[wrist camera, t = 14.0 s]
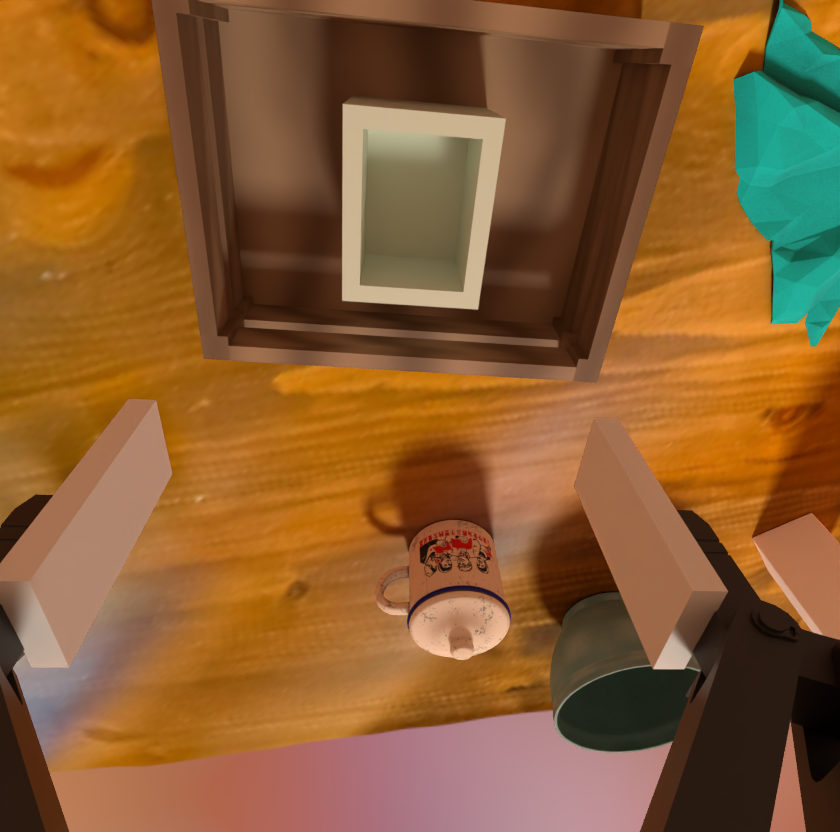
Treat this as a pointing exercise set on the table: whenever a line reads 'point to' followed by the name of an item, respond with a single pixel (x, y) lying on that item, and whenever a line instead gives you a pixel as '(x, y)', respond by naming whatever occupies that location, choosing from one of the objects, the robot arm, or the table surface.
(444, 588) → the teacup with lid
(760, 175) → the cloth
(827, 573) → the milk
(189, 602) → the table surface
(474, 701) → the table surface
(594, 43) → the crate
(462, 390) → the table surface
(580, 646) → the flower pot
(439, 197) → the small crate
